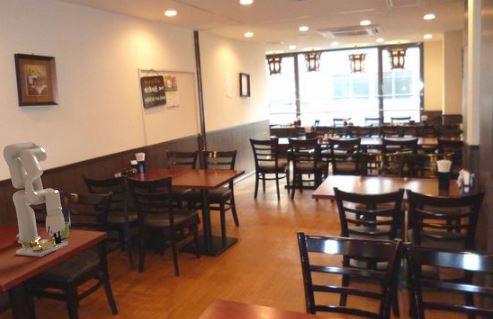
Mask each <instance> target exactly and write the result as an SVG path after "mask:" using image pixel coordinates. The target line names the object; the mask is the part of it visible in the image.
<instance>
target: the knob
mask: <svg viewBox="0 0 493 319" xmlns="http://www.w3.org/2000/svg"><path fill="white" fill-rule="evenodd" d="M47 240H48V241H47V242H43V243H39V245H36V246H33V250H34V251H39V250H42V249H43V248H47V247H50V246H52V242H51V240H52V239H47Z"/></svg>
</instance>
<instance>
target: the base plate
mask: <svg viewBox="0 0 493 319" xmlns="http://www.w3.org/2000/svg"><path fill="white" fill-rule="evenodd" d="M48 240H49V239H46V238H45V239H44V238H43V239H40V240H38V244H37V245H39V243H43V242H47V241H48ZM61 242H62V243H60V244H55V245H53V246H50V247H47V248H43V249H42V250H39V251H34V250H33V246H36V245H33V246H30V247H28V248H25V249H23V247H22V248H20V249H17V250H16V251H15V252H16V255H21V256H28V257H29V256H30V257H41V258H43V256H45V255H48V254H50V253H52V252H55V251H56V250H58V249H61V248H63V247H65V246H68V245H69V243H68V242H69V241H67V240H61Z"/></svg>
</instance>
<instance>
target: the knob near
mask: <svg viewBox="0 0 493 319" xmlns="http://www.w3.org/2000/svg"><path fill="white" fill-rule="evenodd" d="M38 242H39V240H29V241H27V242H23V243H22V244H21V246H22V248H23V249H25V248H28V247H30V246H33V245H37V244H38Z"/></svg>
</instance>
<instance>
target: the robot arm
mask: <svg viewBox="0 0 493 319" xmlns="http://www.w3.org/2000/svg"><path fill="white" fill-rule="evenodd" d="M2 156H3V158H4V162H6V165H7V167H8V171H9V176H10V180H11V183H12V187H13V188H15V189H21V190H18V191H16V192H14V193H13V195H12V201H13V202H12V203H13V205H14V206H15V212H16V218H17V225H18V231H19V232H18V234H17V235H16V238H18V239H17V243H18V244H21V245H22V243H23V242H27V241H29V240H38V241H41V240H42V238H41V236H40V235H38V230H37V222H36V216H35V211H34V209H33V208H32V207H31V206H30V205H39V204H44V203H45V206H46V207H45V208H46V217H45V228H46V233H47V234H48V236H49V237H52V238H55V244H60V243H62V242H61V241H62V239H61V236H62V232H63V231H64V230H65V222H66V221H65V217H64V214H63V212H62V210H63V207H62V204H61V195H60V191H59V190H58V189H54V188H50V187H49V188H45V189H44V187H43V182H42V178H41V176H42V175H43V173H44V170H43V168H42V166H41V164H40V162H45V161H46V160H47V152H46V151H45V149H44V147H42V146H40V145H38V144H36V143H35V142H32V141H27V142H19V143H12V144H11V143H10V144H7V145H6V146H4V148H3V150H2Z"/></svg>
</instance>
